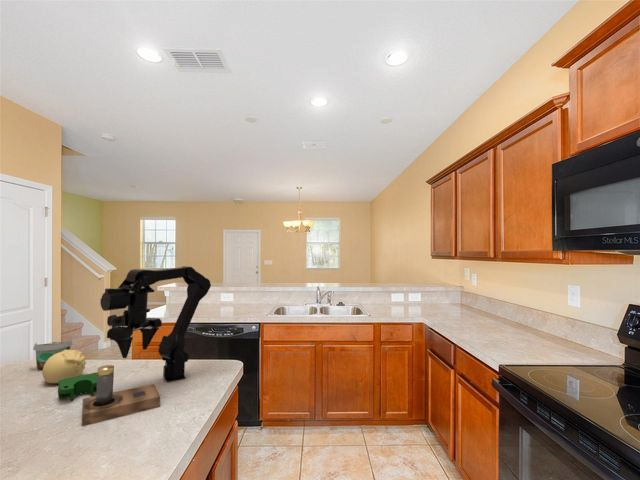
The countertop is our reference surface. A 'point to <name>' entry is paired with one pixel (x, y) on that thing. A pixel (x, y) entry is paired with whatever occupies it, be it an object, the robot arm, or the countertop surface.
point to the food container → (49, 351)
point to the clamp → (77, 385)
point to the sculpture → (64, 366)
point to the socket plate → (121, 404)
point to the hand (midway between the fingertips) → (135, 353)
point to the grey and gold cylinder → (104, 385)
